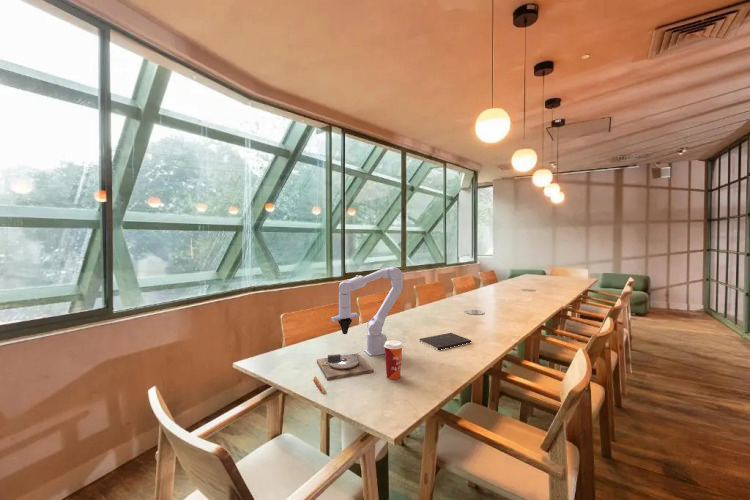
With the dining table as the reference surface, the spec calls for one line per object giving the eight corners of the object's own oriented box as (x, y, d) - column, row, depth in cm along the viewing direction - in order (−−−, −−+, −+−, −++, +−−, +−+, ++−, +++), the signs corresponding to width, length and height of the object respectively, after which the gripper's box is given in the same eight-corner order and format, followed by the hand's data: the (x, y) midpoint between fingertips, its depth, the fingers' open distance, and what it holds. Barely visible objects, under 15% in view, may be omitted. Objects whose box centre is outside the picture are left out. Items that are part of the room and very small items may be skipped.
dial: (327, 359, 145) (327, 350, 145) (356, 356, 147) (356, 348, 147) (328, 370, 132) (328, 361, 132) (360, 368, 135) (360, 359, 135)
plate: (357, 355, 153) (357, 352, 153) (373, 372, 134) (373, 368, 134) (316, 361, 145) (316, 358, 145) (327, 380, 127) (327, 376, 127)
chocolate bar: (318, 380, 128) (318, 374, 128) (327, 393, 117) (327, 387, 117) (312, 381, 126) (312, 376, 126) (320, 395, 116) (320, 389, 116)
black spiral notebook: (419, 342, 174) (419, 338, 173) (451, 336, 184) (451, 332, 184) (438, 352, 160) (438, 347, 159) (471, 344, 170) (471, 340, 170)
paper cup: (397, 382, 125) (397, 347, 124) (380, 377, 129) (380, 343, 128) (406, 375, 131) (406, 341, 131) (389, 370, 136) (390, 338, 135)
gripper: (351, 302, 163) (351, 329, 163) (327, 307, 153) (327, 334, 153) (360, 305, 157) (360, 332, 158) (336, 309, 148) (336, 338, 148)
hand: (344, 333), depth 155 cm, fingers closed
